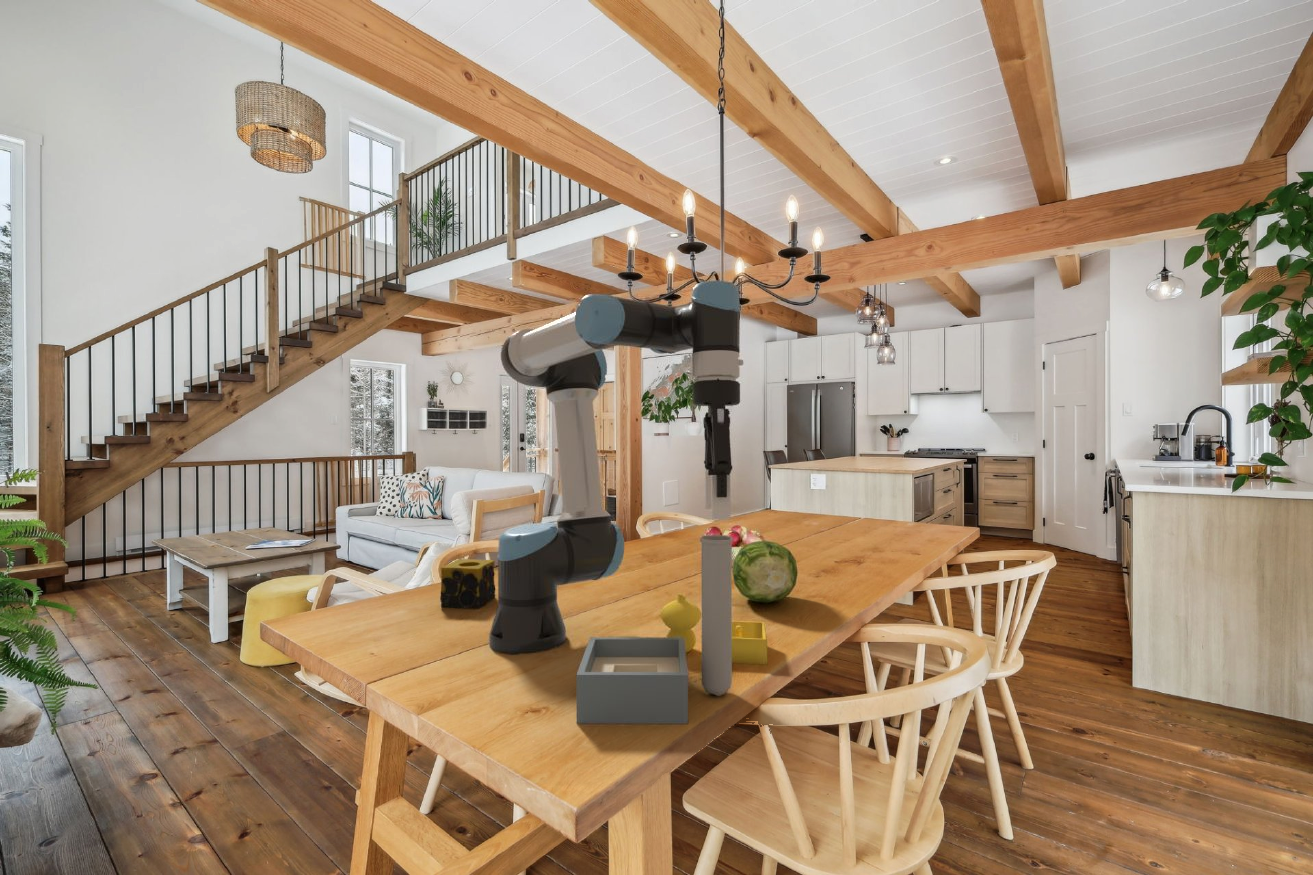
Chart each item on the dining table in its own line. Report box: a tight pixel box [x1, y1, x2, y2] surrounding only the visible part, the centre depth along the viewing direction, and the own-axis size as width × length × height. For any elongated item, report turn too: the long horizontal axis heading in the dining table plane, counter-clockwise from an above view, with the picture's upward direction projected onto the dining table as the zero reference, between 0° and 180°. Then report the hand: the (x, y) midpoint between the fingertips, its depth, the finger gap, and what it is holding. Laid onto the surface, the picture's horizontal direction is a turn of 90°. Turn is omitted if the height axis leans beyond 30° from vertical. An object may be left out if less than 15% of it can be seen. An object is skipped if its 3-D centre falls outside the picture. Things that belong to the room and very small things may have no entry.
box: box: [575, 636, 689, 725], centre depth 94 cm, size 16×16×7 cm
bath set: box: [659, 594, 768, 666], centre depth 114 cm, size 20×10×11 cm, turn 83°
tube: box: [699, 534, 734, 697], centre depth 95 cm, size 5×5×25 cm
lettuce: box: [732, 540, 799, 603], centre depth 146 cm, size 16×21×15 cm
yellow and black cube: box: [439, 558, 496, 610], centre depth 148 cm, size 10×10×10 cm
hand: (717, 513), depth 95 cm, fingers open, 13 cm apart
